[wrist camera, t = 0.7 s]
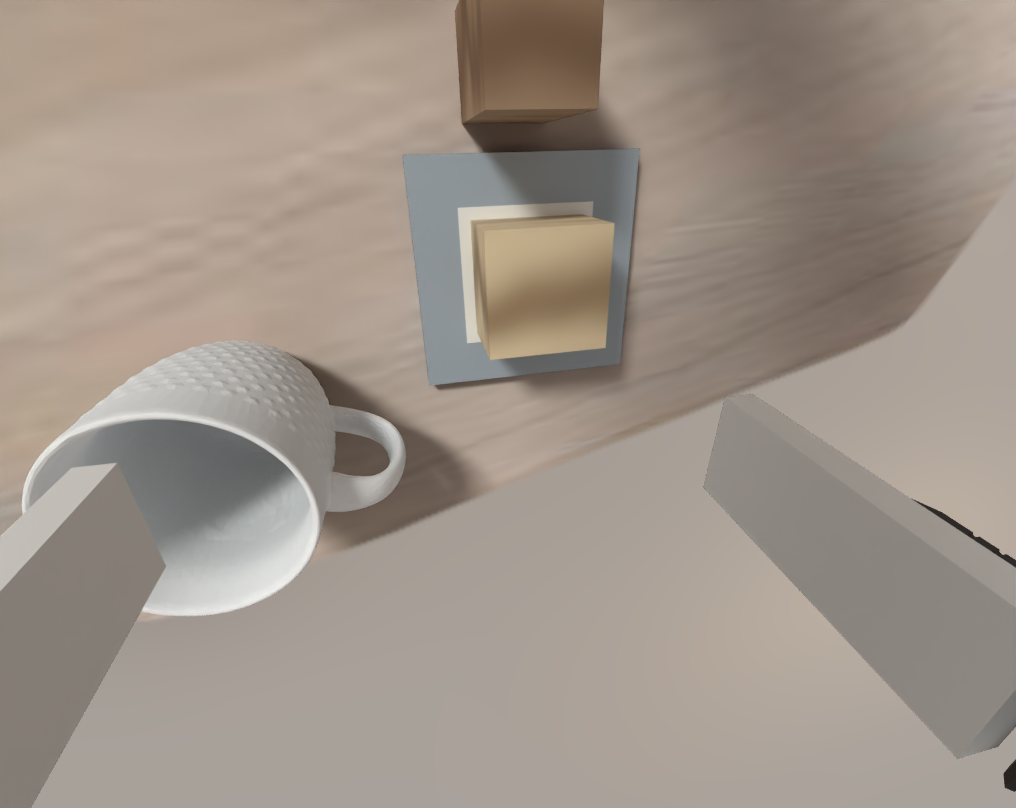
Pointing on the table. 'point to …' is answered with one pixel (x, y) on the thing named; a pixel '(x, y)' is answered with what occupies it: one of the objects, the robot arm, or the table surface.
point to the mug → (225, 469)
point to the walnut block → (528, 59)
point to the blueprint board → (508, 194)
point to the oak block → (541, 283)
